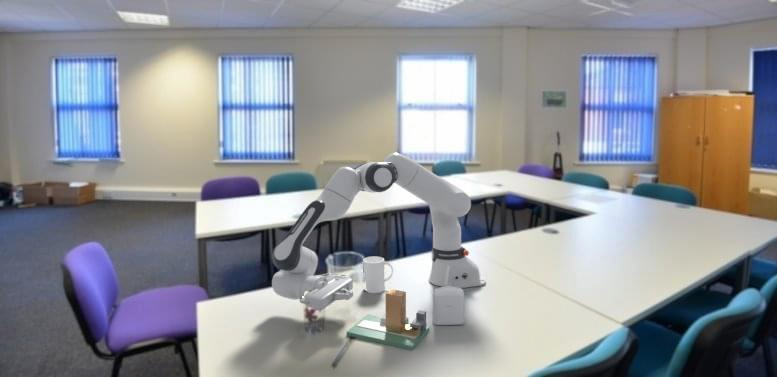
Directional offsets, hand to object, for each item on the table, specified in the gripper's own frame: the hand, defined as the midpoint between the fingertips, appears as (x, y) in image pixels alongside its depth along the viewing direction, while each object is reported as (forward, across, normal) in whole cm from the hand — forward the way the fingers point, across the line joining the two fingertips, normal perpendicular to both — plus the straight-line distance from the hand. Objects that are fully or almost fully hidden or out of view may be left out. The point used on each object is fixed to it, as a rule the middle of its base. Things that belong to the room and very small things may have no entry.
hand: (351, 296), depth 156 cm
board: (+13, 0, +10) cm, 17 cm away
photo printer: (+28, +14, +10) cm, 33 cm away
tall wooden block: (+19, 0, +8) cm, 20 cm away
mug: (-6, +31, +10) cm, 33 cm away
